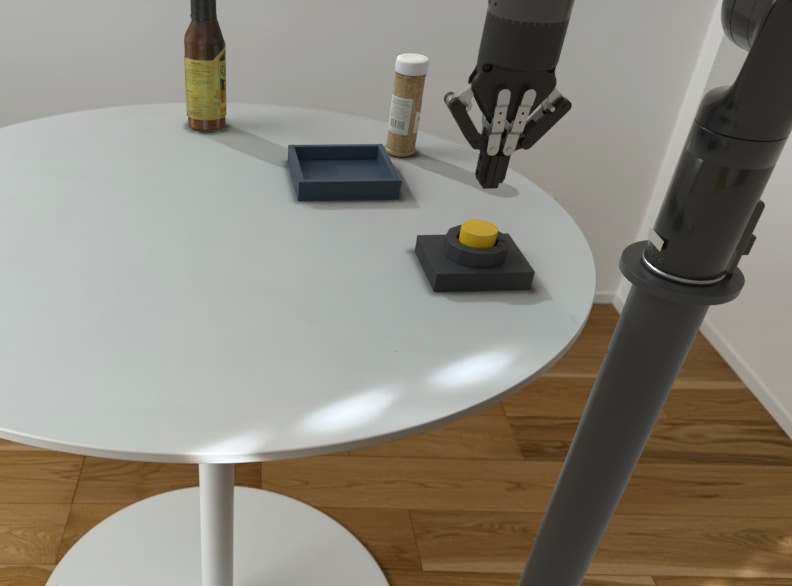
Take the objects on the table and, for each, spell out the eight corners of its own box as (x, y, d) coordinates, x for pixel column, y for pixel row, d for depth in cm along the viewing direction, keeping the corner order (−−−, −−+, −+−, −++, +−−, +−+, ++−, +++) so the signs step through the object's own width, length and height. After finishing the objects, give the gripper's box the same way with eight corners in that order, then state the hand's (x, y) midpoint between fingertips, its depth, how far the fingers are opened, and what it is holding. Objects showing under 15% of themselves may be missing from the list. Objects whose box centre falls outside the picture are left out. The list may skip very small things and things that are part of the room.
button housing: (504, 249, 94) (512, 219, 91) (530, 289, 87) (539, 257, 85) (414, 251, 93) (419, 220, 91) (433, 291, 86) (439, 259, 84)
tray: (380, 161, 114) (382, 143, 112) (399, 199, 104) (401, 180, 103) (287, 162, 113) (288, 144, 111) (297, 200, 103) (298, 182, 102)
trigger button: (488, 232, 90) (491, 218, 88) (499, 249, 87) (503, 235, 85) (454, 233, 89) (457, 219, 88) (464, 250, 86) (467, 236, 85)
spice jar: (421, 154, 116) (436, 59, 108) (397, 160, 114) (411, 63, 106) (401, 143, 119) (415, 50, 110) (377, 149, 117) (389, 54, 109)
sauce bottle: (230, 131, 122) (230, -10, 109) (190, 134, 120) (185, -9, 108) (221, 117, 126) (220, -21, 114) (183, 119, 125) (178, -19, 113)
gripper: (471, 18, 69) (436, 201, 80) (615, 20, 70) (560, 201, 81) (448, -3, 75) (418, 171, 86) (582, -1, 76) (535, 171, 87)
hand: (487, 185), depth 84 cm, fingers closed
